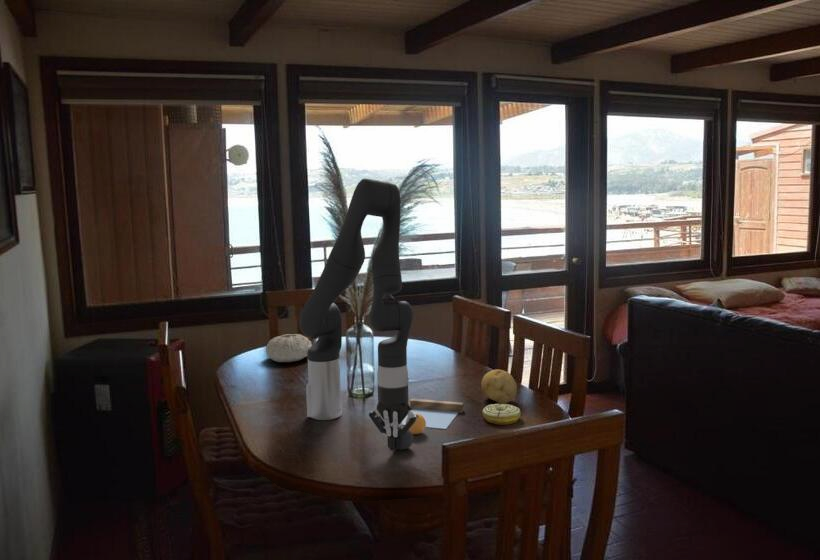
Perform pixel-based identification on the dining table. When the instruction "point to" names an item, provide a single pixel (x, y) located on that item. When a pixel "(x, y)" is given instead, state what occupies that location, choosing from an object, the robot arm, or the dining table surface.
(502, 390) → the potato
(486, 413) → the decorated donut
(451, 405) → the oak rail
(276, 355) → the decorative shell
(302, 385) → the dining table surface
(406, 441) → the dark gray ball
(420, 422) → the orange ball
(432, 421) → the light blue square plate
